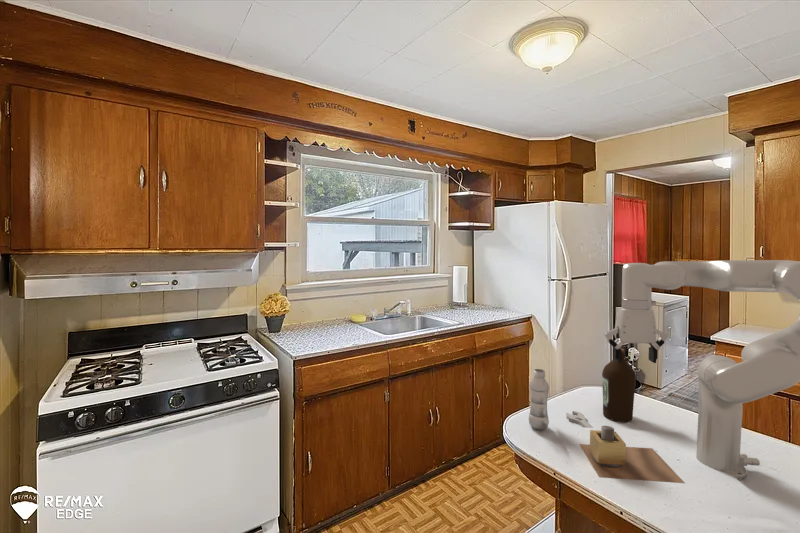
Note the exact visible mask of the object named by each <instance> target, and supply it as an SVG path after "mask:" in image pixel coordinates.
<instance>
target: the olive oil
mask: <svg viewBox="0 0 800 533" xmlns="http://www.w3.org/2000/svg"><path fill="white" fill-rule="evenodd" d="M620 349H621V350H622V361H621V362H617V361H616V360H615V358H614V357H613V359H612V360H610V362H608V363H607V364H605V366H604V367H603V370H602V372H601V379H602V380H601V382H602V385H601V386H602V414H603V417H605V418H606V419H608V420H610V421H613V422H616V423H631V422H632V421H633V417H634V416H633V415H634V404H635V403H634V401H635V392H636V391H635V390H636V382H637V377H636V372H635V370H634V369H633V368H632V367H631V366H630V364H629V363H628V362H627V361H626V360H625V358H626V353H625V351H626V350H625V349H624V348H622V347H620Z"/></svg>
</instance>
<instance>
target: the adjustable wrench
mask: <svg viewBox="0 0 800 533" xmlns="http://www.w3.org/2000/svg"><path fill="white" fill-rule="evenodd" d="M571 412H572V414H571V413H568V412H566V413H565V415H566V416H565V418H566V419H567V420H568V422H570V423H574V422H575V423H574V424H578V425H579V426H581V427H582V428H585V429H586V428H589V429H594V428H595V427H594V426H593V425H591V424H590V423H589V422H587V420H586V418H585V414H583V413H582V412H579V411H577V410H572V411H571ZM575 415H576V416H575Z"/></svg>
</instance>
